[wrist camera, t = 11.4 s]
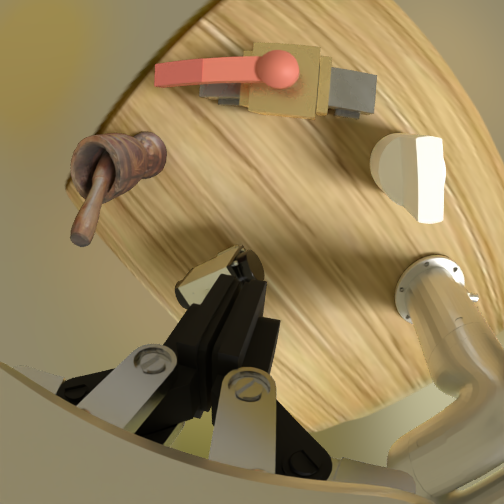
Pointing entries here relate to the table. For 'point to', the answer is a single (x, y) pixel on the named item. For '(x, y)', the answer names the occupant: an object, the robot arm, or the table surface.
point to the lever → (231, 71)
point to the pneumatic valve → (207, 273)
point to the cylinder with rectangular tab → (411, 173)
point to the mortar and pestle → (110, 173)
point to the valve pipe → (301, 88)
